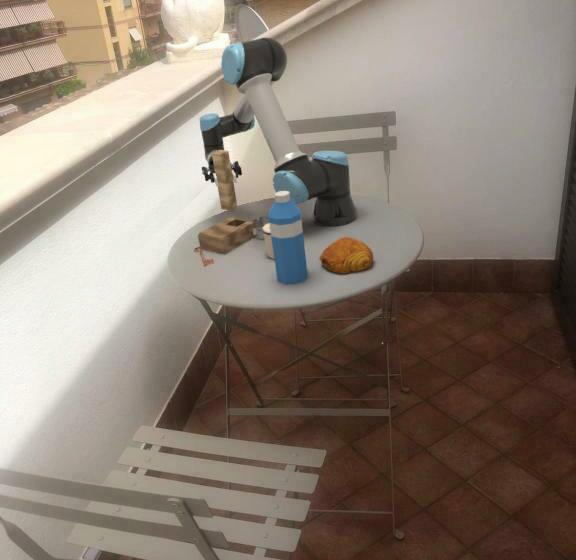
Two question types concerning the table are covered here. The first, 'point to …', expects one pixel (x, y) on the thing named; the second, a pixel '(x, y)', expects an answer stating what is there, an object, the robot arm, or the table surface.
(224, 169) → the wooden key peg
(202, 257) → the key
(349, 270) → the croissant
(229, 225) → the wooden sliding lid box
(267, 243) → the teacup with lid
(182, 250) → the table surface
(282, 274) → the water bottle
